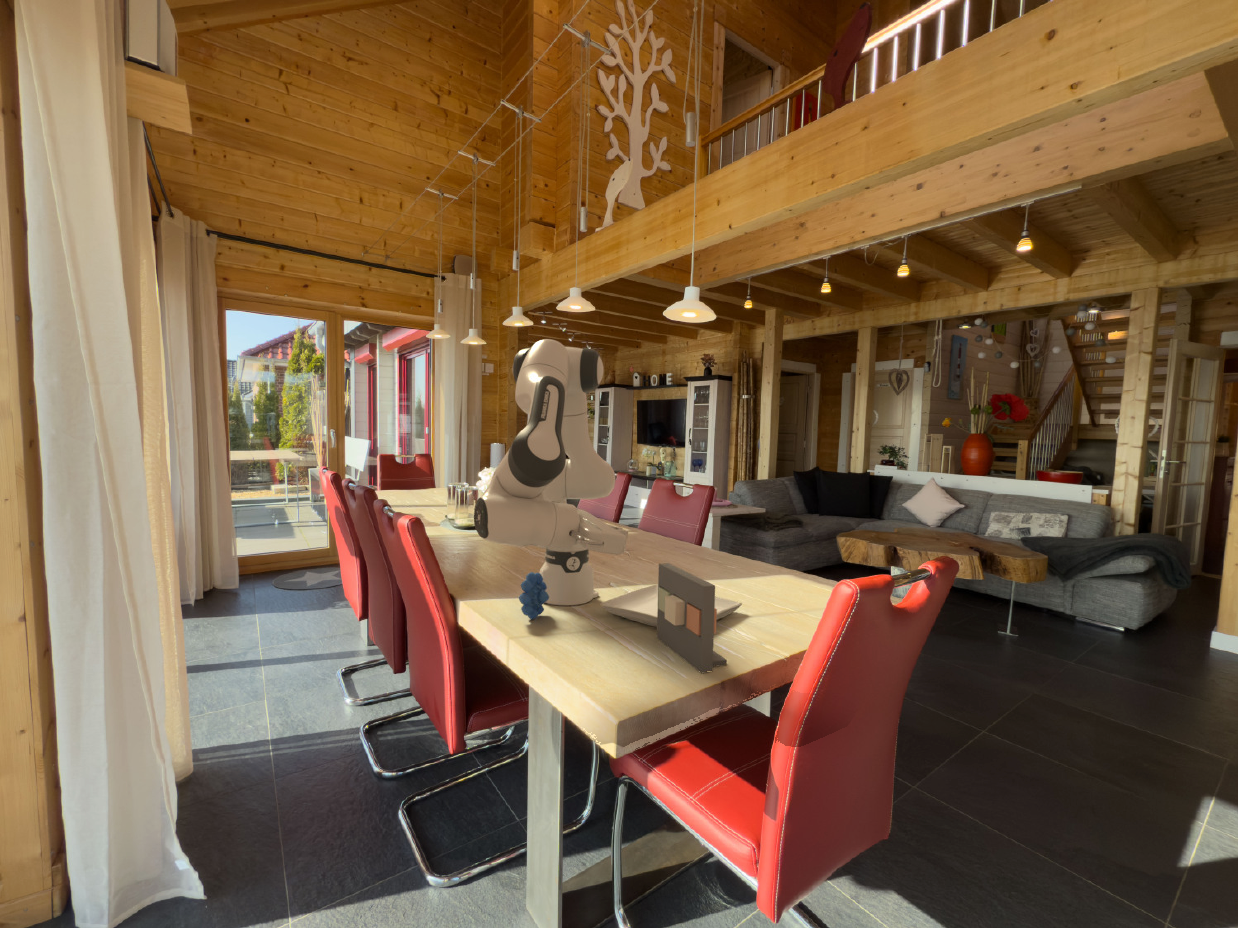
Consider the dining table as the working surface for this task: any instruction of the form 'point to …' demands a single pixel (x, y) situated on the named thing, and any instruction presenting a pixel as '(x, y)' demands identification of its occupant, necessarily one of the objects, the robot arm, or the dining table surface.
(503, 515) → the robot arm
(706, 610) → the keyguard
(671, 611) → the key ivory
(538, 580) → the grapes
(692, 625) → the key terracotta
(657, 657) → the dining table surface
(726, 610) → the square plate
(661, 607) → the key sage
